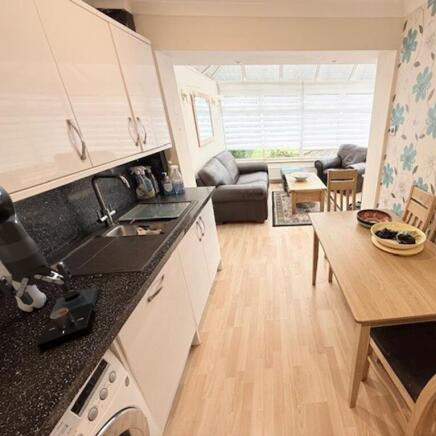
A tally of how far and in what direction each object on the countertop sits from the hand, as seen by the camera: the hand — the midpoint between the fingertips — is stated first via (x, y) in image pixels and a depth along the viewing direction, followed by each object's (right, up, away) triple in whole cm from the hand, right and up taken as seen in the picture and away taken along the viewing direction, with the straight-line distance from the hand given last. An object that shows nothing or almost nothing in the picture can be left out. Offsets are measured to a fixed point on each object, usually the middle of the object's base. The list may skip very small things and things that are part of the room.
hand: (49, 297), depth 73 cm
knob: (+1, -10, +5) cm, 11 cm away
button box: (-7, -8, +17) cm, 20 cm away
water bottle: (-23, -9, +17) cm, 30 cm away
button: (-7, -5, +15) cm, 17 cm away
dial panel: (+1, -13, +6) cm, 14 cm away
